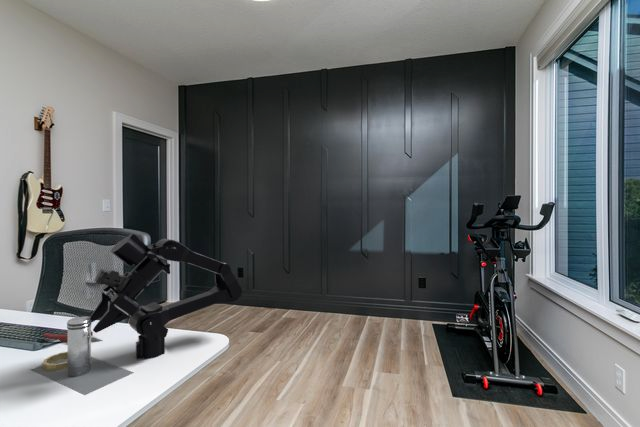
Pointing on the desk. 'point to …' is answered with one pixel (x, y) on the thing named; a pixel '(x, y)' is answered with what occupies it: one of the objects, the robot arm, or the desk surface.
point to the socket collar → (55, 367)
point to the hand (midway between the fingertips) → (92, 326)
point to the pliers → (65, 337)
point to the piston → (79, 346)
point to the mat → (86, 376)
